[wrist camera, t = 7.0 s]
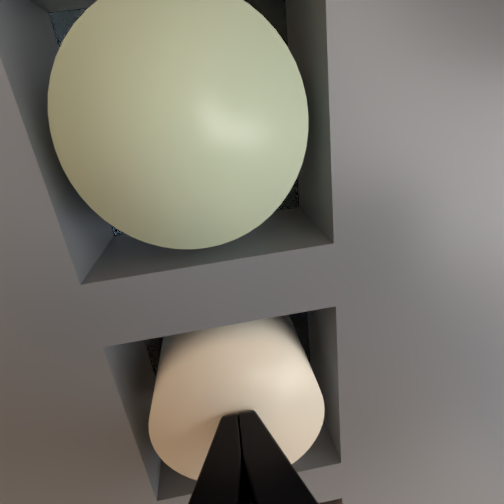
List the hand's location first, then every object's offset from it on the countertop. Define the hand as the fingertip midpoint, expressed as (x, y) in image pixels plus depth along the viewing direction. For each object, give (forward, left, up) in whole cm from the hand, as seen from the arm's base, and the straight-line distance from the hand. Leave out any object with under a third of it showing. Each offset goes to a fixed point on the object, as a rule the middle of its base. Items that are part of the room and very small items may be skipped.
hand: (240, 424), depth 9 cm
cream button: (0, 0, -3) cm, 3 cm away
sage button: (0, -7, -3) cm, 8 cm away
